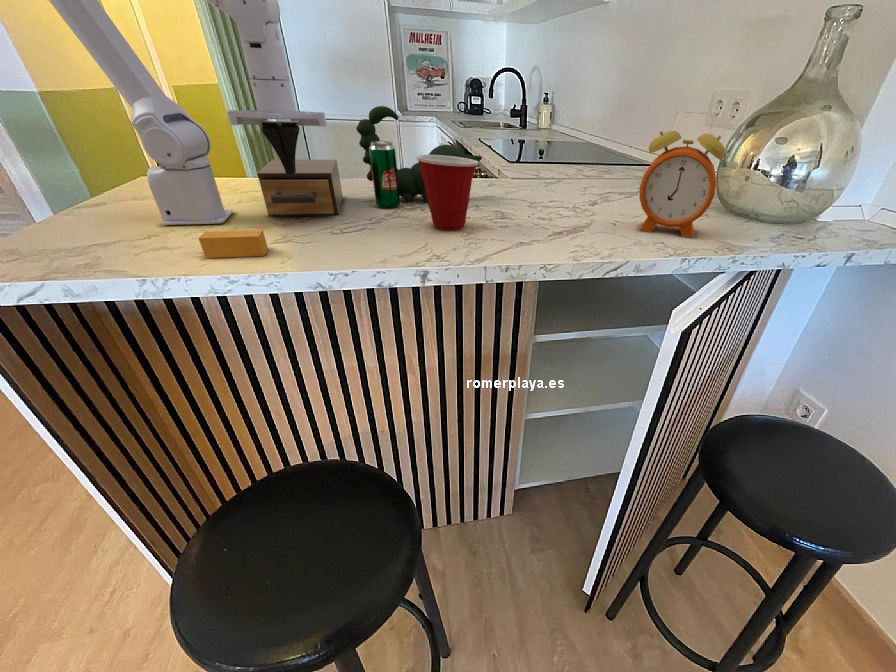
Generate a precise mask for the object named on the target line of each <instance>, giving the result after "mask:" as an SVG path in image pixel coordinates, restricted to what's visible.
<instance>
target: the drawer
mask: <svg viewBox="0 0 896 672" xmlns="http://www.w3.org/2000/svg"><path fill="white" fill-rule="evenodd" d="M260 184H261V185H260ZM259 185H260V189H261V188H262V189H261V192H262V191H263V193H262V196H263V195H264V197H263V200H264V199H265V200H264V204H265V203H266V204H265V207H266V206H267V208H266V211H267V210H268V212H267V215H268V214H269V215H281V214H329V213H334V209H333V204H332V198H331V193H330V187H329V182H328V178H268V179H267V180H261V181H260V182H259ZM269 215H268V216H269Z"/></svg>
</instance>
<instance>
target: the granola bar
mask: <svg viewBox="0 0 896 672" xmlns="http://www.w3.org/2000/svg"><path fill="white" fill-rule="evenodd" d="M198 241H199V244H200V247H201V250H202V252H203V256H204V257H205V259H219V258H221V259H223V258H244V257H245V258H247V257H249V258H250V257H264V256H265V255H266V253H267V252H268V250H269V247H268V242H267V240H266V236H265V233H264V230H263V229H253V230H251V229H248V230H215V231H213V230H212V231H204V232H203V233H202V234H201V235H200V236H199V237H198Z"/></svg>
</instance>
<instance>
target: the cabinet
mask: <svg viewBox="0 0 896 672" xmlns="http://www.w3.org/2000/svg"><path fill="white" fill-rule="evenodd" d="M338 165H339V164H338V160H337V159H295V167H296V172H295V173H294V174H286V172H285V169H284V167H283V165H282V162H281V160H280V158H278V159H276V158H273V159H270V161H269V162H268V163H267V164H266V165H265V166H263V167H262V169H260V170H259V171H258V172H257V173H256V174H257V177H258V181H259V186H261V184H260V181H261V180H267V179H268V178H328V182H329V187H330V193H331V198H332V204H333V209H334V213H329V214H281V215H269V214H268V210H267V206H266V203H265V202H264V204H265V207H266V208H265V209H266V211H267V215H268V217H269V218H270V217H273V218H274V217H313V216H315V217H316V216H317V217H319V216H339V214H340V210H341V207H342V202H343V197H344V195H343V189H342V183H341V176H340V171H339V166H338ZM260 190H261V192H262V196H263V201H265V199H264V195H263V191H262V188H261V187H260Z"/></svg>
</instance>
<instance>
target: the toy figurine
mask: <svg viewBox="0 0 896 672" xmlns="http://www.w3.org/2000/svg"><path fill="white" fill-rule="evenodd" d="M385 118H392V119H394V120H396V121H398V120H399V116H398V114H397V112H396V111H395V110H393V109H392V108H391V107H388V106H384V105H379V106H375V107H373V108H372V109H371V110H370V111H369V112H368V119H367V118H363V119H361V120H360V121H359V122H358V123H357V126H356V128H355V130H356V132H357V133H358V134H359V136H360V140H359V141H358V143H359V146H360V148H363V150H364V156H363V157H362V162H363V163H364V164H365V165H367V164H368V166H369V170H368V172H367V174H366V178H367V180H368V181H369V182H373V177H372V169H371V162H370V154H369V147H370V145H371V144H370V142H372V141H381V138H380V137H379V135H378V134H377V131H376V126H375V125H377V124H380V123H381V122H382V120H384V119H385ZM428 155H444V156H454V157H462V158H468V159H472V160H476V161H478V162H480V161H482V159H483V156H482V155H473V154H465V153H464V152H463V151H462V150H461V149H460V148H458V147H456V146H455V145H452V144H441V145H438V146H436V147H435V148H433V149H432V150H430V151H429V153H428ZM397 173H398V183H399V193H400V198H402V200H403V201H404V202H405V203H411V202H412V200H413V198H415V197H417V196H418V195H420V196H421V198H422V199H423V200H424V201H428V199H427V194H426V189H425V185H424V180H423V176H422V172H421V169H420V164H419V161H418V162H416V163H414V164H413V165H412V166H411V167H401V168H397Z"/></svg>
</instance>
